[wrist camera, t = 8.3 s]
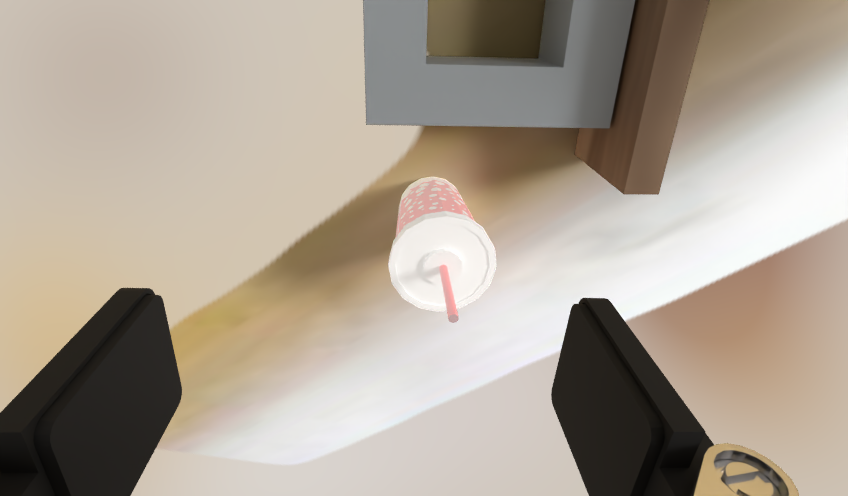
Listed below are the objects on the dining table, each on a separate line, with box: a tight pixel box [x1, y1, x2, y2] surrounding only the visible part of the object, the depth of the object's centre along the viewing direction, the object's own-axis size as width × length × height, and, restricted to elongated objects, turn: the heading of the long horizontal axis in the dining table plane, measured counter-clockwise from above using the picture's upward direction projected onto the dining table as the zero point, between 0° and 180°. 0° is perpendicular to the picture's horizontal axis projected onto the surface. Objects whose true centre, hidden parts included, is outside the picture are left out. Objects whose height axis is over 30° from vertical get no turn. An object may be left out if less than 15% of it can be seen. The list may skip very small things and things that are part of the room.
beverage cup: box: [388, 177, 497, 323], centre depth 29 cm, size 6×6×14 cm
